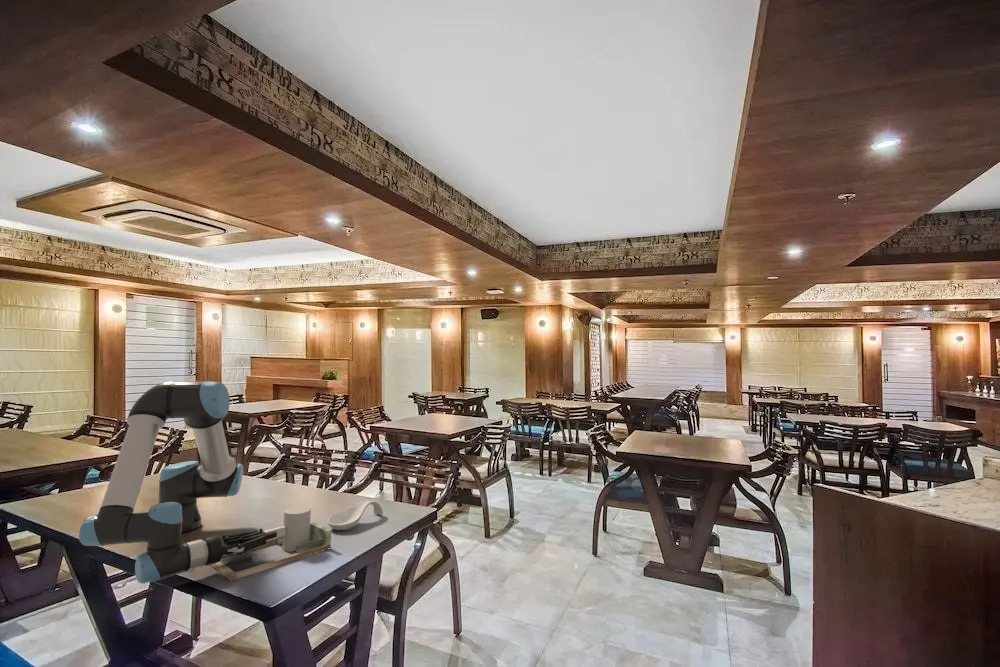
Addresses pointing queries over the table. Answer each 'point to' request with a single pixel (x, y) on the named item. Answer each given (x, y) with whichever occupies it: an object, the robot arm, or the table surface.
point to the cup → (296, 527)
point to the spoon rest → (351, 515)
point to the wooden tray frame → (245, 566)
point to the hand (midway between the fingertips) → (284, 530)
